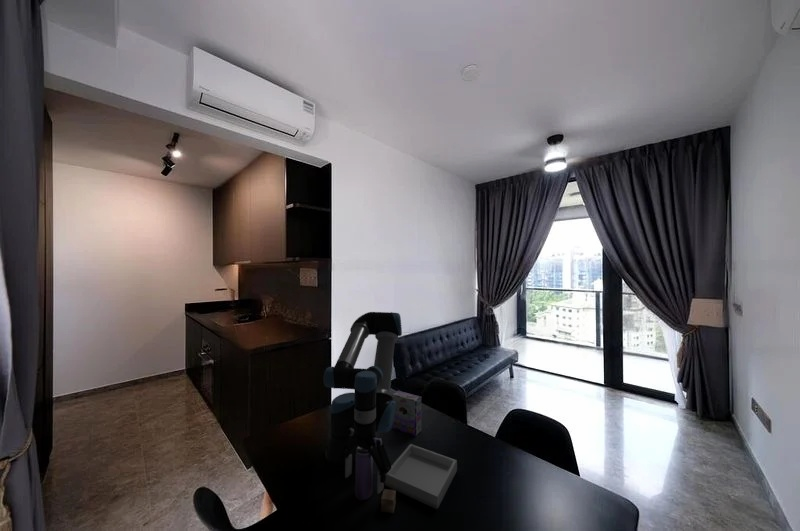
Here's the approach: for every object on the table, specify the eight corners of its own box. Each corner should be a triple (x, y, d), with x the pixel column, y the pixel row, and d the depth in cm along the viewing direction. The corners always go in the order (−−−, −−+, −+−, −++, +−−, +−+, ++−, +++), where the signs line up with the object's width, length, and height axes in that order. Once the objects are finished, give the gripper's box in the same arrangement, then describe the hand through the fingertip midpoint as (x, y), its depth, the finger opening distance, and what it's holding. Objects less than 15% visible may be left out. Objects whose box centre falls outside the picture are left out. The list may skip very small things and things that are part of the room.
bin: (384, 485, 96) (384, 473, 97) (410, 453, 114) (410, 443, 114) (437, 509, 87) (437, 496, 87) (456, 471, 104) (456, 460, 104)
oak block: (381, 511, 86) (381, 498, 86) (383, 501, 90) (384, 488, 90) (393, 513, 85) (393, 500, 85) (395, 503, 89) (395, 490, 89)
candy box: (421, 431, 131) (422, 396, 131) (415, 437, 126) (416, 400, 126) (397, 422, 138) (398, 389, 139) (391, 427, 133) (391, 393, 134)
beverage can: (364, 504, 88) (365, 457, 89) (351, 496, 91) (352, 450, 92) (375, 492, 93) (376, 447, 94) (362, 484, 96) (363, 441, 97)
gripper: (330, 414, 96) (328, 476, 95) (390, 435, 84) (389, 506, 83) (344, 405, 103) (343, 463, 102) (402, 424, 91) (401, 489, 90)
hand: (363, 482), depth 93 cm, fingers open, 13 cm apart
